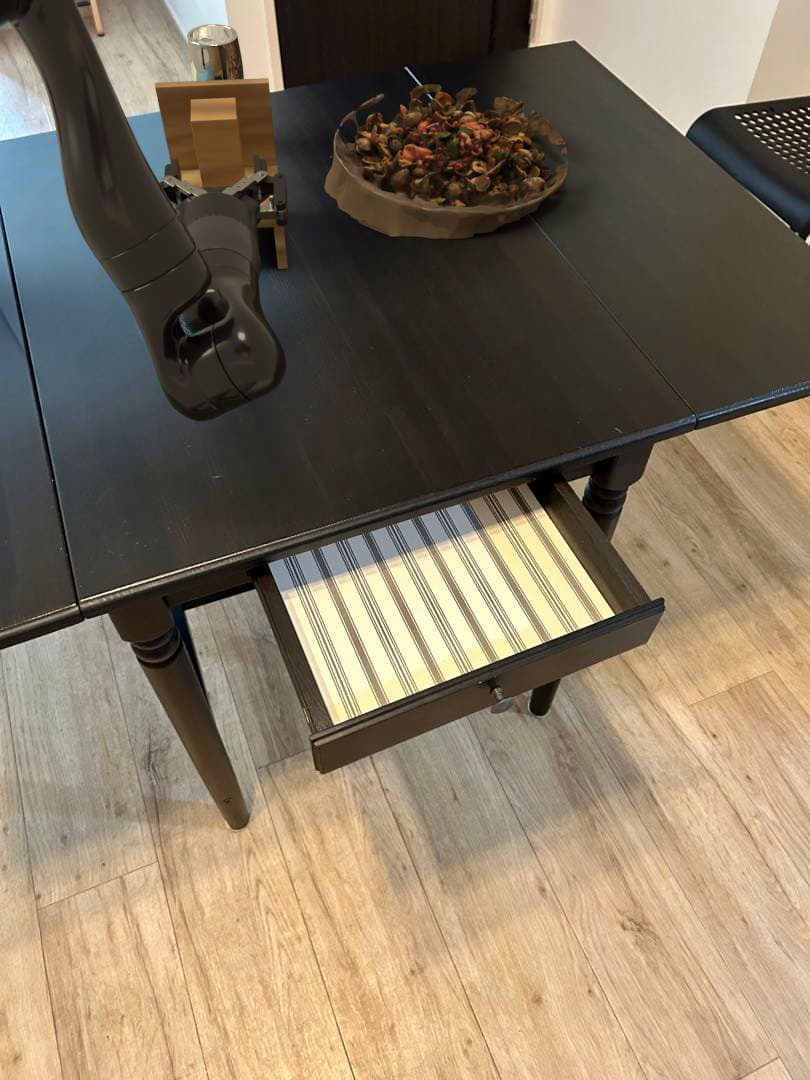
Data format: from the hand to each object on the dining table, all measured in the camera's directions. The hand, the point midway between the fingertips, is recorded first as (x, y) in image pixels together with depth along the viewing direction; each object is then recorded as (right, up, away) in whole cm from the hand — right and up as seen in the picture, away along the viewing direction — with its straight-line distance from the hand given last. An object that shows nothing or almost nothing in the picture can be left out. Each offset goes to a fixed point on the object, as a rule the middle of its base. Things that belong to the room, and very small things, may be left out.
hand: (216, 165), depth 88 cm
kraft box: (-1, +2, +11) cm, 12 cm away
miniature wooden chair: (-2, -2, +17) cm, 18 cm away
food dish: (+26, +12, +29) cm, 41 cm away
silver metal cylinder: (-6, +17, +32) cm, 37 cm away
